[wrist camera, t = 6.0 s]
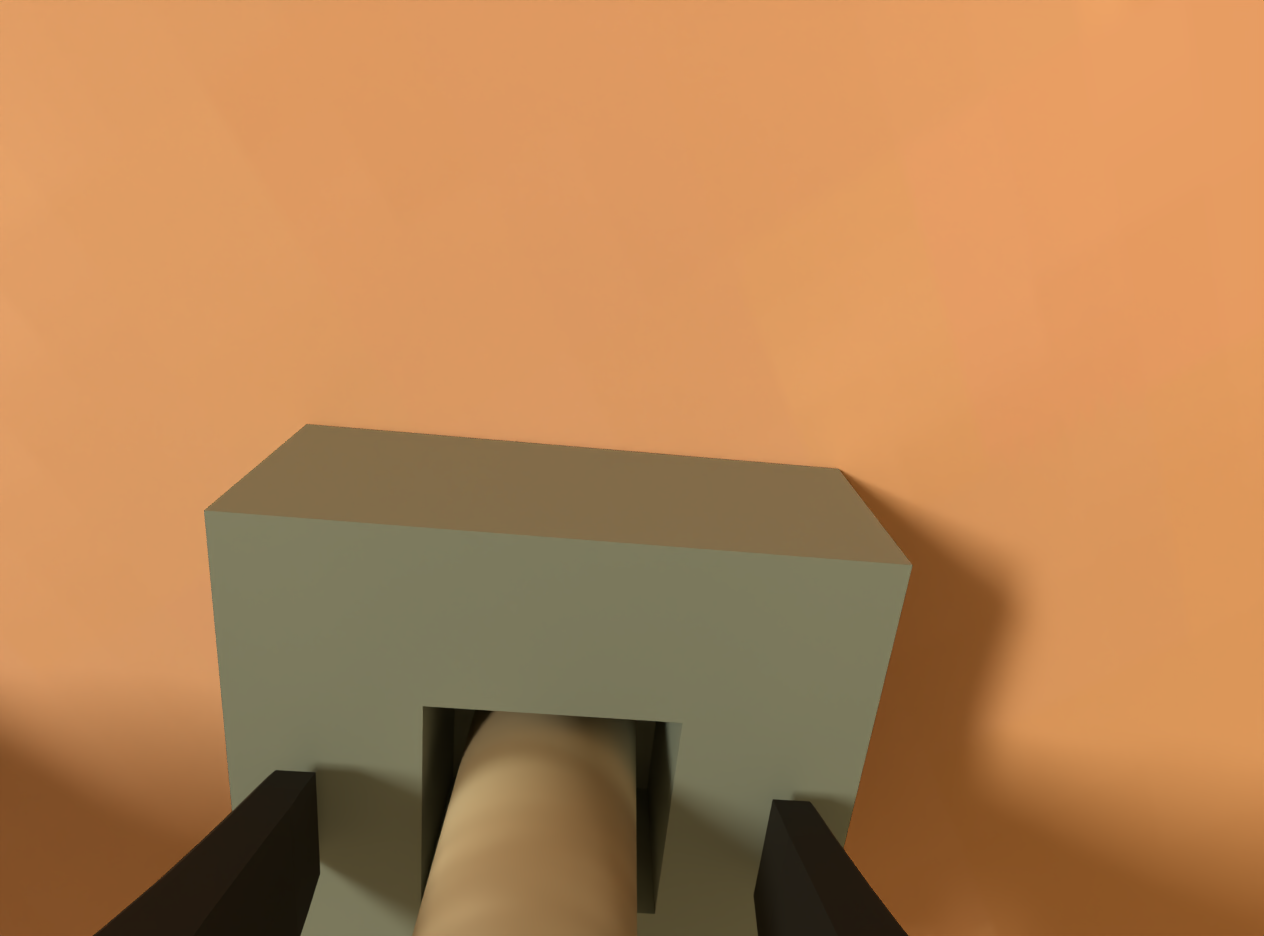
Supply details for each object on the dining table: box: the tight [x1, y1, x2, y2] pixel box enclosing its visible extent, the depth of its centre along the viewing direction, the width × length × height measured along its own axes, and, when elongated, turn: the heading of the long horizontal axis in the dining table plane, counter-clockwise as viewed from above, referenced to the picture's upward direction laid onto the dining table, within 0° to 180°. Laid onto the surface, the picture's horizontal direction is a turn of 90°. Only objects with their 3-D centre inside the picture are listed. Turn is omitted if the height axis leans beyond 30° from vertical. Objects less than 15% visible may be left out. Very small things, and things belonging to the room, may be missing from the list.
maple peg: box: [412, 710, 637, 936], centre depth 13 cm, size 3×3×7 cm
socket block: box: [204, 424, 913, 936], centre depth 15 cm, size 10×10×4 cm
